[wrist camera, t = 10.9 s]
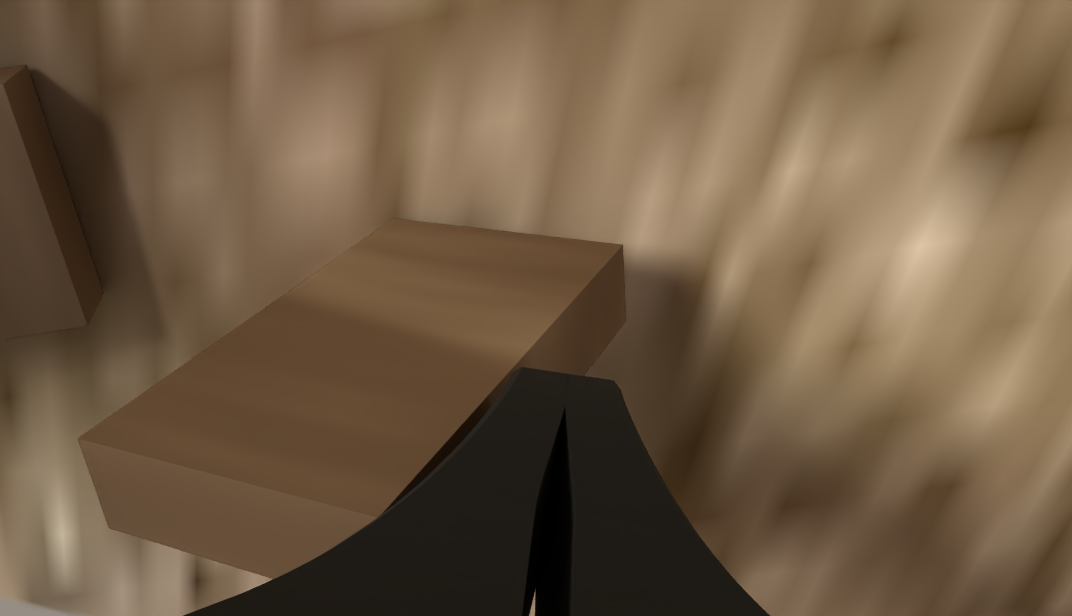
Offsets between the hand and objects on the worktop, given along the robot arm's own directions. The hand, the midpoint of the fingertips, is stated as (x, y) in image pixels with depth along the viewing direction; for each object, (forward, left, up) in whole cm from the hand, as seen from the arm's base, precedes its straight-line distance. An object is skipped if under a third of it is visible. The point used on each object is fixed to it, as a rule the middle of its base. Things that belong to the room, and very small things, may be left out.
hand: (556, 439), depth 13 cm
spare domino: (-1, 0, -5) cm, 5 cm away
